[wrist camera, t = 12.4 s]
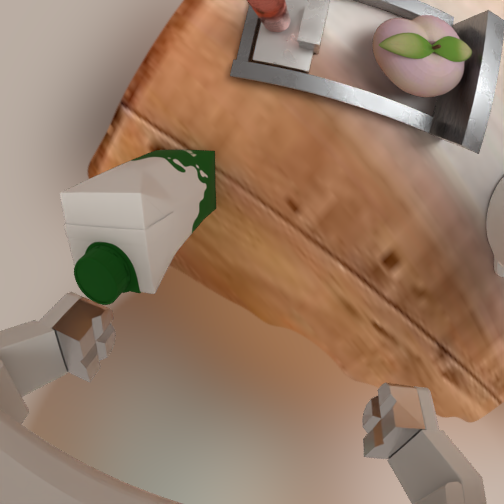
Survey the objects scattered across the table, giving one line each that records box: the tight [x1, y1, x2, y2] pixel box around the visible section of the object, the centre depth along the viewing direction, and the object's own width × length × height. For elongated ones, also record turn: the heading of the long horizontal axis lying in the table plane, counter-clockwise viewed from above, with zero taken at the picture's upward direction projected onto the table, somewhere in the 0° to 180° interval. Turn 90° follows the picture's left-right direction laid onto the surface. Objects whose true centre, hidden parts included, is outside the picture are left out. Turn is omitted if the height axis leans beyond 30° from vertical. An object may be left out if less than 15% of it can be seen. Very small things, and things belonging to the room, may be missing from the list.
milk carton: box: [60, 150, 216, 305], centre depth 28 cm, size 9×9×20 cm
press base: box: [230, 0, 504, 154], centre depth 23 cm, size 24×14×9 cm, turn 78°
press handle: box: [247, 0, 330, 73], centre depth 22 cm, size 6×10×12 cm, turn 168°
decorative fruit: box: [373, 15, 472, 97], centre depth 22 cm, size 9×8×10 cm
